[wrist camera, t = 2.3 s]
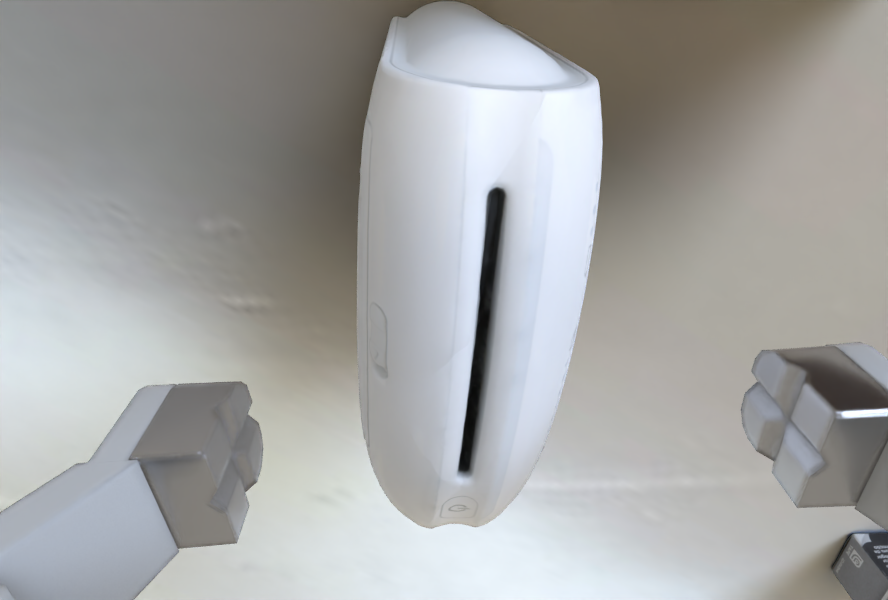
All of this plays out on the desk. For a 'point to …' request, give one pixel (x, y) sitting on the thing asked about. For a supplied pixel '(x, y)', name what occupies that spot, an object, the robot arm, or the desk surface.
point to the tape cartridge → (864, 566)
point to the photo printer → (470, 257)
